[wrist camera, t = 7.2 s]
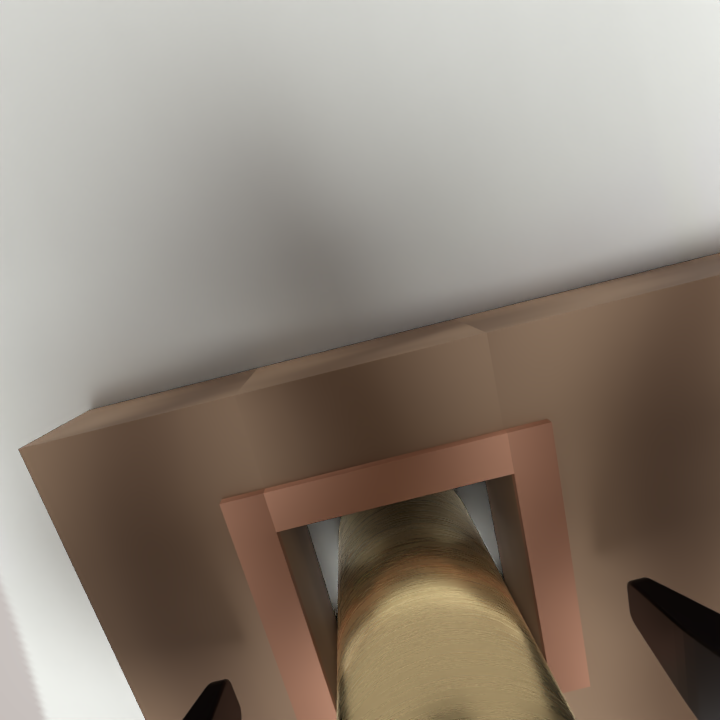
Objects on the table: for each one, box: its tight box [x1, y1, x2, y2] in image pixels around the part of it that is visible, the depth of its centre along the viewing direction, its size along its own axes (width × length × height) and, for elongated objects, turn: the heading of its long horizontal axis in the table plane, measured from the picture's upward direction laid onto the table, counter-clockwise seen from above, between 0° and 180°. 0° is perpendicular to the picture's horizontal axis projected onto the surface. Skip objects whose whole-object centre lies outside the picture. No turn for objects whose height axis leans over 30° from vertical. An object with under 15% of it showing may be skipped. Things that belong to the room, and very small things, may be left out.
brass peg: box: [336, 489, 576, 720], centre depth 9 cm, size 4×4×7 cm
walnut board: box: [18, 253, 720, 720], centre depth 12 cm, size 19×23×3 cm
